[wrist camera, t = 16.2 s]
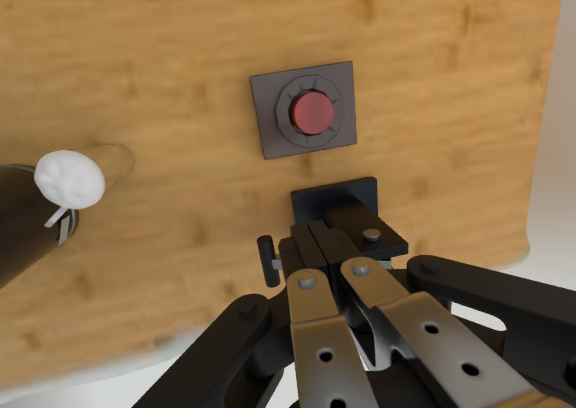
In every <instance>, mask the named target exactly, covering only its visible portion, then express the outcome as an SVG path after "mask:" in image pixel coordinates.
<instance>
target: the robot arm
mask: <svg viewBox="0 0 576 408" xmlns="http://www.w3.org/2000/svg"><path fill="white" fill-rule="evenodd" d="M35 170H36V168H33V167H29V166H25V165H15V164H10V165H2V166H0V289H2V288H3V287H4V286H6V285H7V284H8V283H10V282H11V281H12V280H14V279H15V278H16V277H17V276H19V275H20V274H21V273H23V272H24V271H25V270H27V269H28V268H29V267H31V266H32V265H33V264H35V263H36V262H37V261H39V260H40V259H41V258H43V257H44V256H45V255H47V254H48V253H49V252H50V251H52V250H53V249H54V248H57V247H58V246H60V245H61V244H63V243H64V242H65V241H67V240H68V239H69V238H70V237H71V236H72V234H73V233H74V231H75V229H76V226H77V223H78V211H77V209H70V208H68V209H67V210H66V212H65V213H64V214H63V215H62V216H61V217H60V218H59V219H58V220H57V221H56V222H55V223H54V224H53V226H52V227H46V226H44V224H45V223H46V222H47V221H48V220H49V219H50V218H51V217H52V216H53V215H54V214H55V213H56V212H57V211H58V210H59V208H60V207H61V206H59V205H57V204H55V203H53V202H51V201H50V200H48V199H47V198H46V197H45V196H44V195H43V194H42V192H41V190H40V189H39V187H38V186H37V184H36V182H35V180H34V174H35ZM290 232H291V237H289V238H284V239H281V240H280V242H279V245H278V249H279V254H280V259H281V264H282V269H283V274H284V278H285V282H286V286H285V288H284V289H283V290H282V291H281V292H280V293H279V294H278V295H276V296H274V297H273V298H271V299H269V300H268V299H267V298H266V297H265V296H263V295H260V294H248V295H244V296H242V297H239V298H238V299H236V300H234V301H233V302H232V303H231V304H230V305H229V306H228V307H227V308H226V309H225V310H224V311H223V312H222V313H221V314H220V315H219V317H218V318H217V319H216V320H215V321H214V322H213V323H212V324H211V325H210V326H209V327H208V328H207V329H206V330H205V331H204V332H203V333H202V334H201V335H200V336H199V337H198V338H197V340H196V341H195V342H194V343H193V344H192V345H191V346H190V347H189V348H188V349H187V350H186V351H185V352H184V353H183V354H182V355H181V356H180V357H179V358H178V359H177V360H176V362H175V363H174V364H173V365H172V366H171V367H170V368H169V369H168V370H167V371H166V372H165V373H164V374H163V375H162V376H161V378H159V379H158V381H157V382H155V384H154V385H153V386H152V387H151V388H150V389H149V390H148V391H147V392H146V393H145V394H144V395H143V396H142V397H141V398H140V399H139V400H138V401H137V403H135V404H134V405H133V406H132V408H265V407H266V405H267V403H268V402H269V400H270V398H271V396H272V395H273V393H274V391H275V389H276V387H277V385H278V384H279V382H280V380H281V378H282V376H283V373H284V368H285V367H287V366H288V365H290V364H291V363H293V362H295V371H296V379H297V387H298V397H299V399H298V400H297V401H296V402H295V403H293V404H292V405H291V406H290V407H289V408H576V291H573V290H569V289H565V288H561V287H557V286H553V285H549V284H545V283H541V282H537V281H533V280H529V279H525V278H521V277H517V276H513V275H509V274H505V273H501V272H497V271H493V270H489V269H485V268H481V267H477V266H473V265H469V264H465V263H461V262H457V261H453V260H449V259H445V258H441V257H437V256H432V255H419V256H415V257H412V258H411V259H409V260H408V262H407V269H385V268H384V267H383V266H382V265H381V264H380V263H379V262H377V261H376V260H374V259H372V258H368V257H364V256H363V255H362V254H361V253H360V251H359V250H358V249H357V248H356V246H355V245H354V244H353V243H352V241H351V240H350V239H349V238H348V236H347V235H346V234H345V232H344V231H342V230H340V229H338V228H336V227H335V228H330V229H328V228H327V226H326V225H325V223H324V222H323V220H318V221H313V222H308V223H304V224H299V225H294V226H290ZM452 302H455V303H458V304H460V305H463V306H466V307H470V308H473V309H475V310H478V311H481V312H484V313H487V314H490V315H493V316H495V317H497V318H499V319H500V320H501V321H502V322H503V323H504V324H505V326H506V329H507V330H505V331H497V330H494V329H491V328H488V327H486V326H483V325H480V324H477V323H475V322H472V321H469V320H467V319H464V318H461V317H458V316H456V315H453V314H451V305H452ZM357 350H358V351H357ZM358 352H359V353H360V355H361V357H362V359H363V360H364V362H365V364H366V366H367V367H368V369H369V371H365V369H364V367H363V364H362V361H361V359H360V356H359V353H358Z"/></svg>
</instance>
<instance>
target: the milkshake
mask: <svg viewBox="0 0 576 408" xmlns="http://www.w3.org/2000/svg"><path fill="white" fill-rule="evenodd" d="M133 165H134V159H133V156H132V154H131V152H130V151H129V150H127V149H126V148H125V147H123V146H122V145H114V144H107V145H100V146H94V147H87V148H80V149H69V150H59V151H54V152H51V153H48V154H46V155H45V156H43V157H42V158H41V159H40V160H39V162H38V164H37V166H36V170H35V174H34V180H35V182H36V184H37V186H38V187H39V189H40V190H41V192H42V194H43V195H44V196H45V197H46V198H47V199H48V200H50V201H51V202H53V203H55V204H57V205H59V206H61V207H60V208H59V210H58V211H57V212H56V213H55V214H54V215H53V216H52V217H51V218H50V219H49V220H48V221H47V222H46V223H45V224H44V226H46V227H52V226H53V224H54V223H55V222H56V221H57V220H58V219H59V218H60V217H61V216H62V215H63V214H64V213H65V212H66V210H67V209H68V208H70V209H83V208H87V207H90V206H92V205H94V204H95V203H97V202H98V201H99V200H100V199H101V198H102V197H103V196H104V195H105V194H106V193H107V192H108V191H109V190H110V189H111V188H112V187H113V186H114V185H115V184H117V183H118V182H119V181H120V180H121V179H122V178H124V177H125V176H126V175H127V174H128V173H130V172H131V171H132V169H133Z"/></svg>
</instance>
